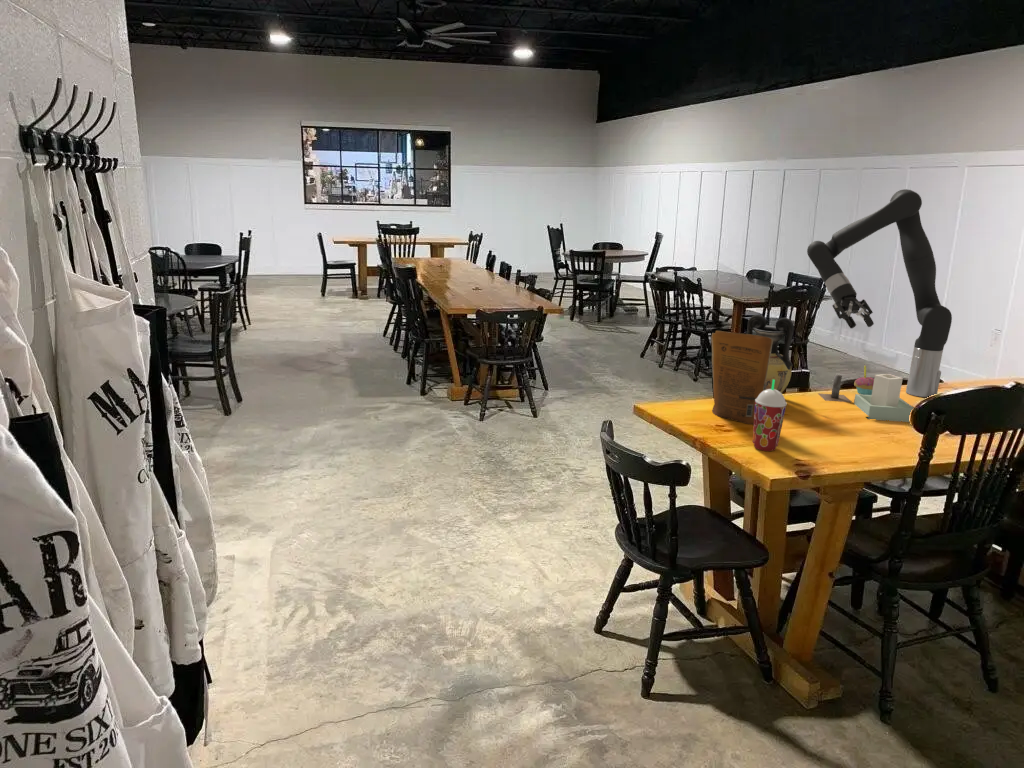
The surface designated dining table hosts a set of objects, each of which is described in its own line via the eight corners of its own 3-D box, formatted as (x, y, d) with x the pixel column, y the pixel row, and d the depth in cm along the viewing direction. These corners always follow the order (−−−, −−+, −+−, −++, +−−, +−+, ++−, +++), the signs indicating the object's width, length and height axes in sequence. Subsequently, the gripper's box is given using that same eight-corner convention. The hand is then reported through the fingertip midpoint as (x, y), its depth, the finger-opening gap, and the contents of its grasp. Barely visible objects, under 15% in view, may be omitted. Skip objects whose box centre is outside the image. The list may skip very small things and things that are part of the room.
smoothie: (785, 448, 206) (795, 380, 200) (771, 455, 200) (781, 385, 195) (758, 440, 211) (766, 374, 206) (743, 447, 206) (752, 378, 200)
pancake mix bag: (757, 428, 222) (768, 338, 215) (701, 413, 235) (710, 328, 228) (767, 424, 227) (778, 336, 220) (712, 409, 240) (721, 326, 232)
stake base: (843, 398, 259) (847, 373, 256) (851, 405, 250) (856, 379, 248) (817, 396, 260) (820, 371, 257) (824, 403, 251) (828, 378, 249)
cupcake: (858, 399, 258) (863, 366, 255) (848, 392, 266) (853, 360, 263) (882, 400, 258) (888, 367, 255) (872, 393, 266) (877, 361, 263)
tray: (896, 409, 247) (898, 396, 246) (913, 422, 234) (915, 408, 233) (853, 406, 249) (855, 394, 247) (867, 419, 235) (870, 406, 234)
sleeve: (881, 408, 245) (887, 373, 241) (896, 413, 240) (902, 378, 236) (869, 409, 242) (875, 374, 239) (883, 414, 237) (890, 379, 234)
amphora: (729, 403, 248) (740, 316, 240) (739, 392, 262) (749, 309, 254) (784, 412, 240) (796, 322, 232) (791, 400, 254) (803, 315, 246)
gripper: (832, 283, 253) (855, 321, 246) (862, 281, 259) (884, 319, 252) (818, 296, 259) (840, 333, 252) (847, 294, 265) (869, 331, 258)
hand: (862, 326), depth 252 cm, fingers open, 8 cm apart
